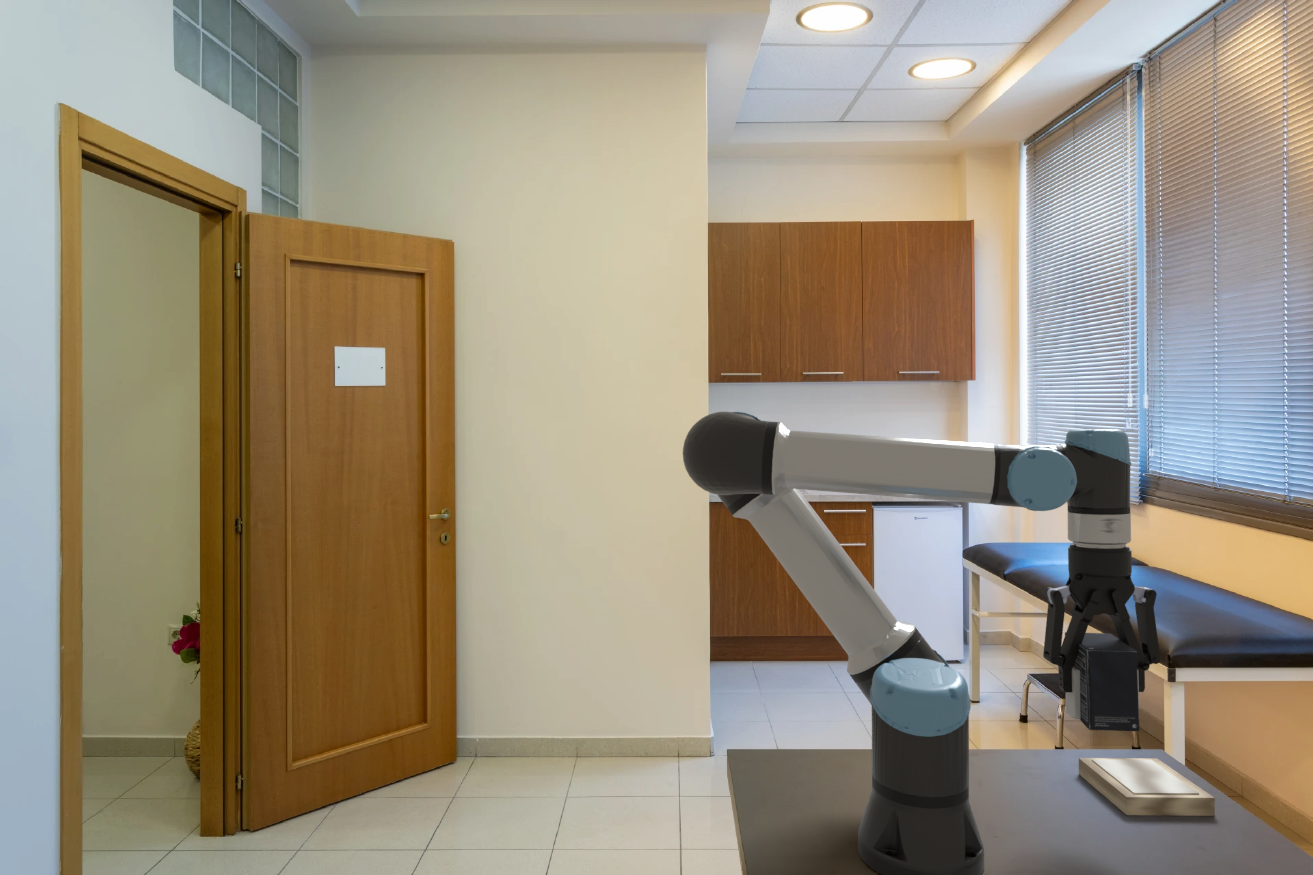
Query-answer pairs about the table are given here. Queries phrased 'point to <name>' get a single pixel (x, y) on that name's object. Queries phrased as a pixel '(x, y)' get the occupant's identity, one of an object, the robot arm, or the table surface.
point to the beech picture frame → (1146, 787)
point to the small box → (1108, 683)
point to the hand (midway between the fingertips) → (1101, 715)
